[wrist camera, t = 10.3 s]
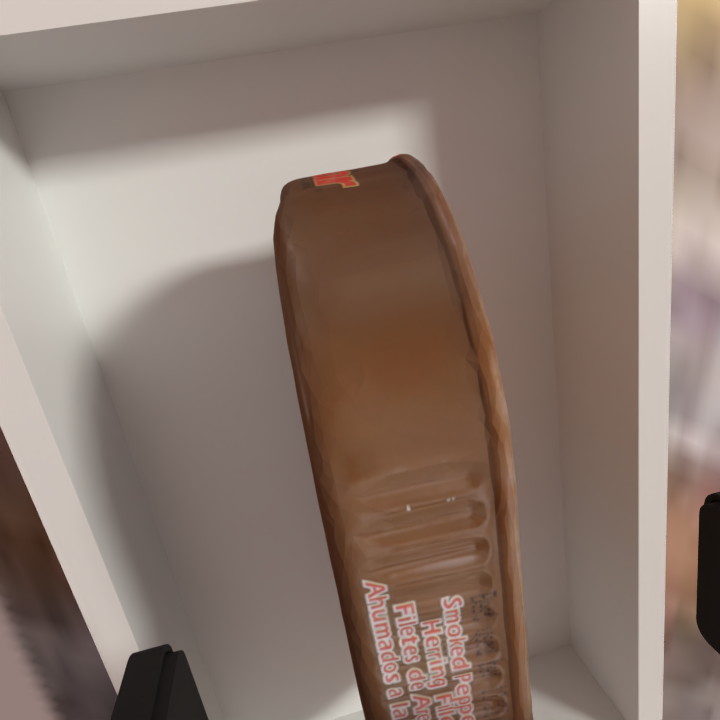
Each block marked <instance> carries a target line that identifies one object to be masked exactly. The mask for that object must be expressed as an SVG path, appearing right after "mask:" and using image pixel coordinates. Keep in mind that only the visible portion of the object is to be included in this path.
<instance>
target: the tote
mask: <svg viewBox="0 0 720 720" xmlns="http://www.w3.org/2000/svg"><path fill="white" fill-rule="evenodd" d="M676 34H677V0H0V427H1V429H2V431H3V434H4V436H5V438H6V440H7V443H8V445H9V447H10V450H11V452H12V454H13V456H14V459H15V461H16V463H17V466H18V468H19V470H20V473H21V475H22V477H23V479H24V482H25V484H26V486H27V489H28V491H29V493H30V496H31V498H32V500H33V502H34V505H35V507H36V509H37V512H38V514H39V516H40V519H41V521H42V523H43V525H44V528H45V530H46V532H47V535H48V537H49V539H50V541H51V544H52V546H53V548H54V551H55V553H56V555H57V558H58V560H59V562H60V564H61V567H62V569H63V571H64V574H65V576H66V578H67V581H68V583H69V585H70V587H71V590H72V592H73V594H74V597H75V599H76V601H77V604H78V606H79V608H80V610H81V613H82V615H83V617H84V620H85V622H86V624H87V626H88V629H89V631H90V633H91V636H92V638H93V640H94V643H95V645H96V647H97V649H98V652H99V654H100V656H101V659H102V661H103V663H104V666H105V668H106V670H107V672H108V675H109V677H110V679H111V682H112V684H113V686H114V688H115V691H116V693H117V695H118V693H119V689H120V686H121V682H122V679H123V675H124V672H125V668H126V665H127V661H128V659H129V657H130V655H131V654H132V653H135V652H139V651H142V650H146V649H150V648H153V647H157V646H161V645H164V644H169V645H170V646H171V647H172V650H173V652H175V651H179V650H183V651H184V653H185V655H186V658H187V661H188V663H189V666H190V669H191V672H192V675H193V677H194V680H195V683H196V686H197V689H198V691H199V694H200V697H201V700H202V703H203V705H204V708H205V711H206V714H207V717H208V719H209V720H365V717H364V713H363V709H362V705H361V700H360V696H359V691H358V687H357V682H356V678H355V673H354V669H353V664H352V659H351V654H350V649H349V645H348V640H347V635H346V630H345V625H344V621H343V617H342V612H341V607H340V602H339V597H338V592H337V588H336V583H335V579H334V574H333V570H332V566H331V561H330V556H329V551H328V546H327V541H326V537H325V532H324V527H323V523H322V518H321V513H320V509H319V504H318V499H317V495H316V489H315V484H314V479H313V473H312V468H311V463H310V457H309V453H308V448H307V443H306V438H305V433H304V428H303V423H302V418H301V413H300V407H299V402H298V397H297V392H296V386H295V380H294V375H293V369H292V364H291V360H290V355H289V350H288V345H287V339H286V332H285V326H284V319H283V313H282V307H281V301H280V294H279V287H278V280H277V272H276V264H275V254H274V243H273V234H274V223H275V216H276V213H277V210H278V207H279V204H280V195H281V190H282V188H283V187H284V185H286V184H287V183H288V182H290V181H293V180H296V179H299V178H304V177H309V176H315V175H320V174H325V173H332V172H338V171H344V170H351V169H356V168H362V167H367V166H373V165H378V164H383V163H386V162H388V161H389V159H391V158H392V157H394V156H396V155H399V154H409V155H411V156H413V157H414V158H416V159H417V160H419V161H420V162H421V163H422V164H423V165H424V166H425V168H426V169H427V170H428V171H429V172H430V173H431V174H432V176H433V177H434V179H435V180H436V182H437V183H438V185H439V187H440V189H441V191H442V193H443V195H444V197H445V199H446V201H447V203H448V205H449V207H450V209H451V211H452V213H453V215H454V217H455V220H456V222H457V225H458V228H459V230H460V233H461V235H462V237H463V240H464V242H465V245H466V248H467V252H468V255H469V258H470V261H471V265H472V268H473V271H474V274H475V276H476V279H477V284H478V289H479V291H480V294H481V297H482V301H483V305H484V310H485V313H486V315H487V317H488V321H489V326H490V329H491V332H492V335H493V340H494V345H495V351H496V356H497V361H498V366H499V371H500V376H501V380H502V385H503V389H504V394H505V400H506V405H507V410H508V416H509V423H510V430H511V437H512V446H513V455H514V467H515V477H516V488H517V499H518V521H519V536H520V554H521V565H522V574H523V587H524V605H525V622H526V630H527V645H528V661H529V675H530V687H531V696H532V713H533V720H662V709H663V661H664V613H665V564H666V516H667V468H668V420H669V371H670V323H671V275H672V227H673V179H674V130H675V82H676Z"/></svg>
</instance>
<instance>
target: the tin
mask: <svg viewBox="0 0 720 720" xmlns="http://www.w3.org/2000/svg"><path fill="white" fill-rule="evenodd" d="M273 243H274V254H275V264H276V272H277V280H278V287H279V294H280V301H281V307H282V313H283V319H284V326H285V332H286V339H287V345H288V350H289V355H290V360H291V364H292V369H293V375H294V380H295V386H296V392H297V397H298V402H299V407H300V413H301V418H302V423H303V428H304V433H305V438H306V443H307V448H308V453H309V457H310V463H311V468H312V473H313V479H314V484H315V489H316V495H317V499H318V504H319V509H320V513H321V518H322V523H323V527H324V532H325V537H326V541H327V546H328V551H329V556H330V561H331V566H332V570H333V574H334V579H335V583H336V588H337V592H338V597H339V602H340V607H341V612H342V617H343V621H344V625H345V630H346V635H347V640H348V645H349V649H350V654H351V659H352V664H353V669H354V673H355V678H356V682H357V687H358V691H359V696H360V700H361V705H362V709H363V713H364V717H365V720H533V713H532V696H531V687H530V675H529V661H528V645H527V630H526V622H525V605H524V587H523V574H522V565H521V554H520V536H519V521H518V499H517V488H516V477H515V467H514V455H513V446H512V437H511V430H510V423H509V416H508V410H507V405H506V400H505V394H504V389H503V385H502V380H501V376H500V371H499V366H498V361H497V356H496V351H495V345H494V340H493V335H492V332H491V329H490V326H489V321H488V317H487V315H486V313H485V310H484V305H483V301H482V297H481V294H480V291H479V289H478V284H477V279H476V276H475V274H474V271H473V268H472V265H471V261H470V258H469V255H468V252H467V248H466V245H465V242H464V240H463V237H462V235H461V233H460V230H459V228H458V225H457V222H456V220H455V217H454V215H453V213H452V211H451V209H450V207H449V205H448V203H447V201H446V199H445V197H444V195H443V193H442V191H441V189H440V187H439V185H438V183H437V182H436V180H435V179H434V177H433V176H432V174H431V173H430V172H429V171H428V170H427V169H426V168H425V166H424V165H423V164H422V163H421V162H420V161H419V160H417V159H416V158H414V157H413V156H411V155H409V154H399V155H396V156H394V157H392V158H391V159H389V161H388V162H386V163H383V164H378V165H373V166H367V167H362V168H356V169H351V170H344V171H338V172H332V173H325V174H320V175H315V176H309V177H304V178H299V179H296V180H293V181H290V182H288V183H287V184H286V185H284V187H283V188H282V190H281V195H280V204H279V207H278V210H277V213H276V216H275V223H274V234H273Z"/></svg>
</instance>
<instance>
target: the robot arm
mask: <svg viewBox="0 0 720 720" xmlns="http://www.w3.org/2000/svg"><path fill="white" fill-rule="evenodd" d="M696 620H697V625H698V628H699V630H700V632H701V634H702V636H703V637H704V639H705V640H706V641H707V642H708V643H709V644H710V645H711V646H712V647H713V648H714V649H715V650H716V651H717V652H718V653H719V654H720V492H717V493H713V494H710V495H708V496H707V497H706V499H705V503H704V505H703V506H702V507H701V508H700V512H699V545H698V579H697V614H696ZM111 720H209V719H208V717H207V714H206V711H205V708H204V705H203V703H202V700H201V697H200V694H199V691H198V689H197V686H196V683H195V680H194V677H193V675H192V672H191V669H190V666H189V663H188V661H187V658H186V655H185V653H184V651H183V650H179V651H175V652H173V650H172V647H171V646H170V645H169V644H164V645H161V646H157V647H153V648H150V649H146V650H142V651H139V652H135V653H132V654H131V655H130V657H129V659H128V661H127V665H126V668H125V672H124V675H123V679H122V682H121V686H120V689H119V693H118V696H117V700H116V703H115V707H114V710H113V714H112V717H111Z"/></svg>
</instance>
